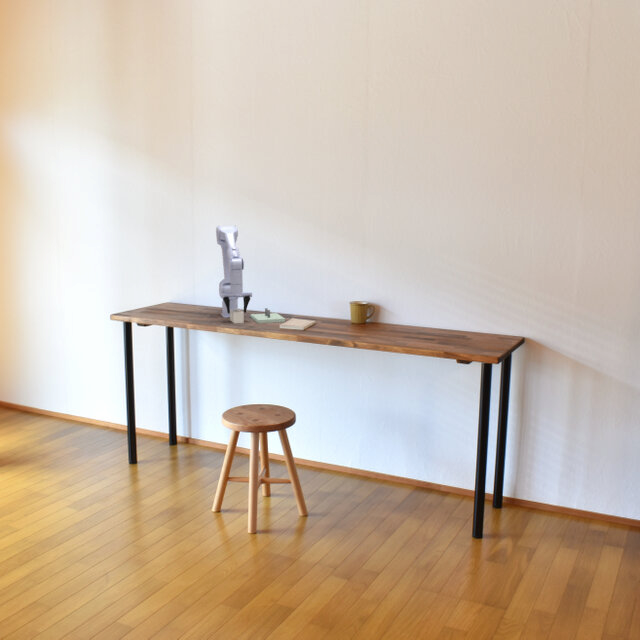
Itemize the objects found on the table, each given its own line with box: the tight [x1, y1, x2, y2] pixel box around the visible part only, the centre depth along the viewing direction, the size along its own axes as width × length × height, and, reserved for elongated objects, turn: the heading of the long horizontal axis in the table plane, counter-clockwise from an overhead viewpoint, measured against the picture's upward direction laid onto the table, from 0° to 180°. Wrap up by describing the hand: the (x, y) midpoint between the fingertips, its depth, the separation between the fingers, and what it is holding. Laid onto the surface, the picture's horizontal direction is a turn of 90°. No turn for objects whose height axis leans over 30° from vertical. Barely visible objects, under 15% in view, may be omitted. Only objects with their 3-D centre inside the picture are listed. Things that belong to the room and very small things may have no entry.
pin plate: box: [250, 307, 286, 324], centre depth 373 cm, size 16×13×5 cm
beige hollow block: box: [229, 308, 245, 324], centre depth 367 cm, size 9×5×5 cm, turn 17°
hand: (236, 312), depth 367 cm, fingers open, 7 cm apart
